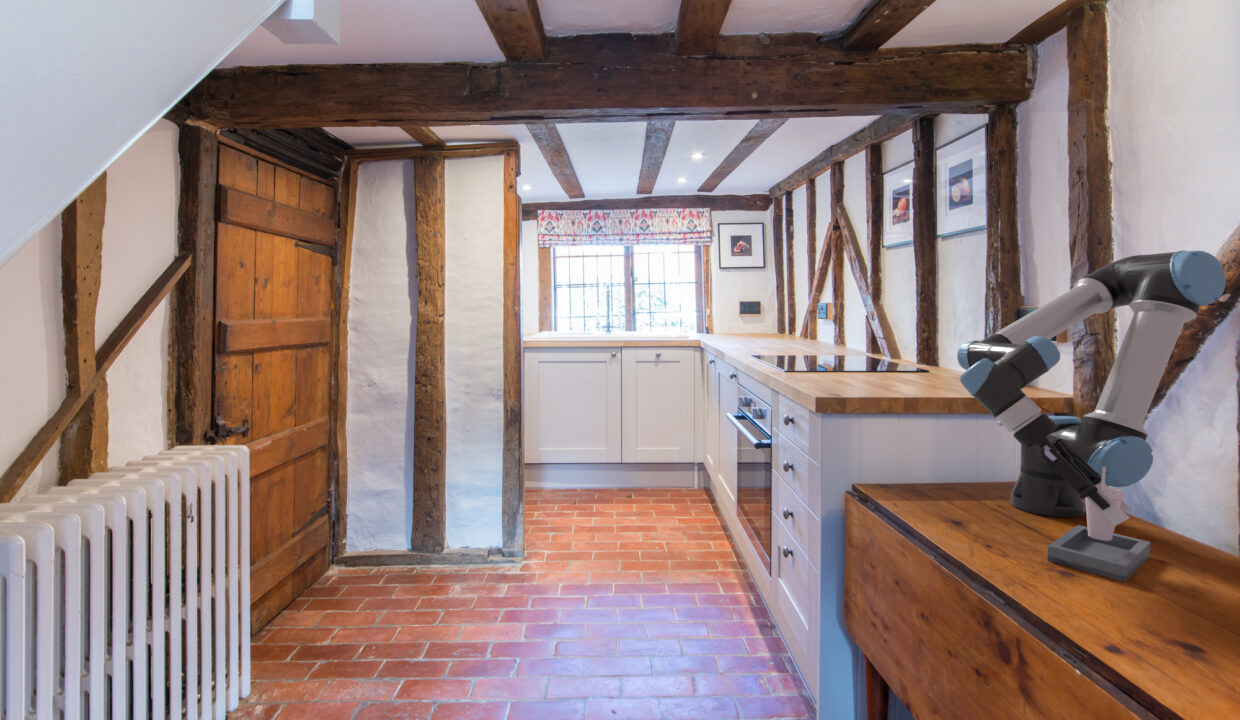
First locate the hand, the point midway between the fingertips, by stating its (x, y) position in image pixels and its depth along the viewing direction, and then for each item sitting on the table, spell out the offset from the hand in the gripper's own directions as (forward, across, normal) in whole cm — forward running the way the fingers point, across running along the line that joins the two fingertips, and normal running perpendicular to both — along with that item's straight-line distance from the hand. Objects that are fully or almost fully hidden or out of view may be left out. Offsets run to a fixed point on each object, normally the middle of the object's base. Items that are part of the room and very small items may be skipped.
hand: (1123, 516), depth 115 cm
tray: (+4, 0, -9) cm, 10 cm away
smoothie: (+1, 0, -6) cm, 6 cm away
